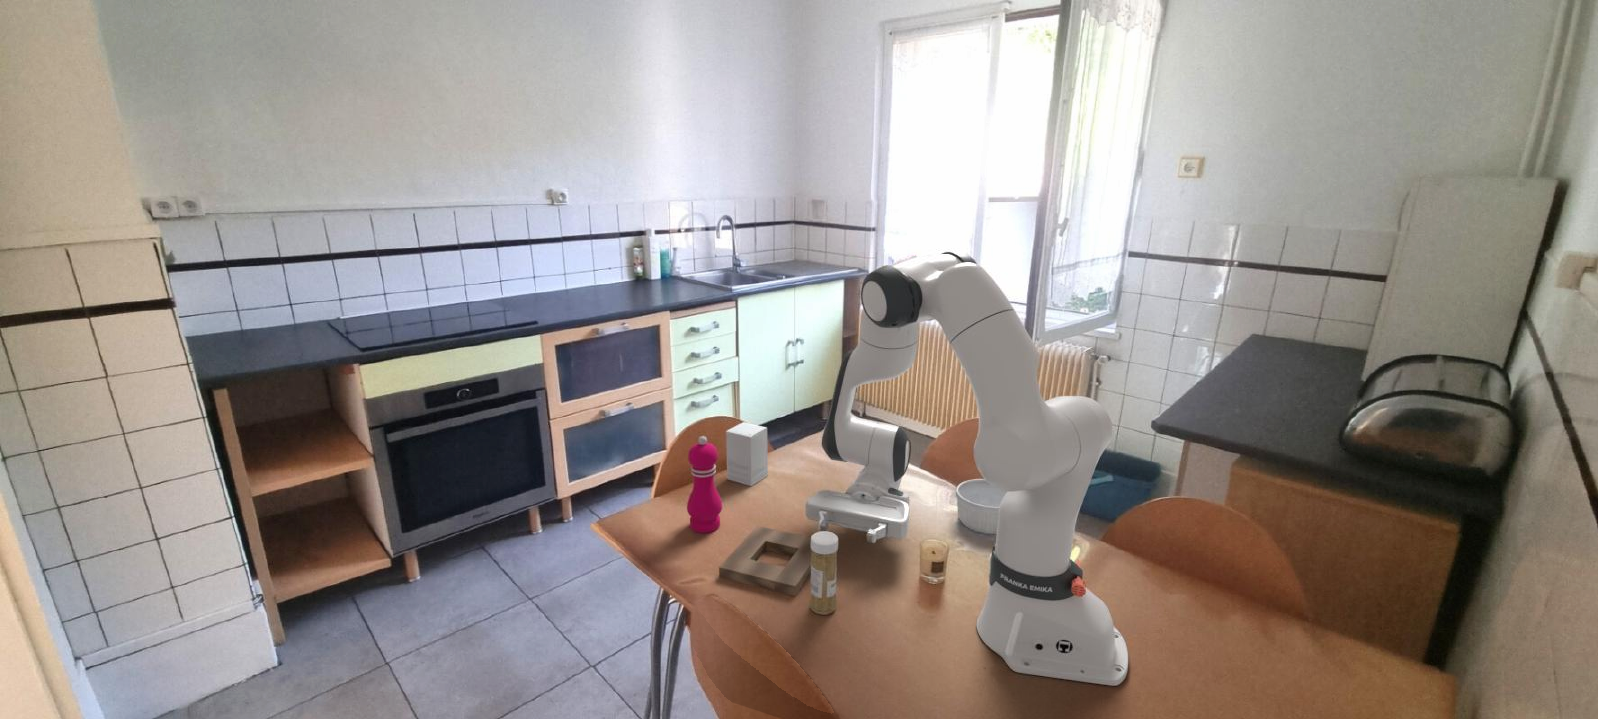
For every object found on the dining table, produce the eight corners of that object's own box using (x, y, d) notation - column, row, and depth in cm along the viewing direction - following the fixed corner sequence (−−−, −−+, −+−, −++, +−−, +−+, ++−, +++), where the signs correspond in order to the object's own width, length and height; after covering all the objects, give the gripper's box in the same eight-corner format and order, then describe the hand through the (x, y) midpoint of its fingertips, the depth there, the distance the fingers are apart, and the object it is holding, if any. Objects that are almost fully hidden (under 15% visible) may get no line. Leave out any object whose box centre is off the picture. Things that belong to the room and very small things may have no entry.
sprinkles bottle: (839, 613, 112) (841, 542, 108) (813, 617, 111) (814, 545, 107) (832, 597, 116) (834, 528, 113) (806, 600, 115) (807, 531, 112)
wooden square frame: (826, 550, 131) (826, 541, 130) (795, 596, 116) (795, 586, 116) (757, 534, 136) (757, 525, 136) (719, 576, 122) (719, 567, 121)
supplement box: (768, 475, 163) (768, 427, 159) (750, 487, 157) (750, 437, 153) (744, 468, 166) (743, 421, 163) (725, 479, 160) (724, 430, 157)
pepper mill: (716, 536, 135) (713, 445, 130) (682, 532, 137) (678, 441, 131) (727, 519, 142) (725, 431, 137) (694, 515, 143) (691, 428, 138)
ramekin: (955, 534, 137) (958, 504, 135) (952, 504, 150) (954, 476, 148) (1022, 540, 135) (1025, 509, 133) (1013, 509, 148) (1016, 481, 146)
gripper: (818, 476, 138) (793, 506, 125) (917, 495, 130) (900, 529, 118) (818, 504, 139) (793, 536, 127) (915, 524, 132) (898, 560, 120)
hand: (845, 533), depth 123 cm, fingers open, 8 cm apart
